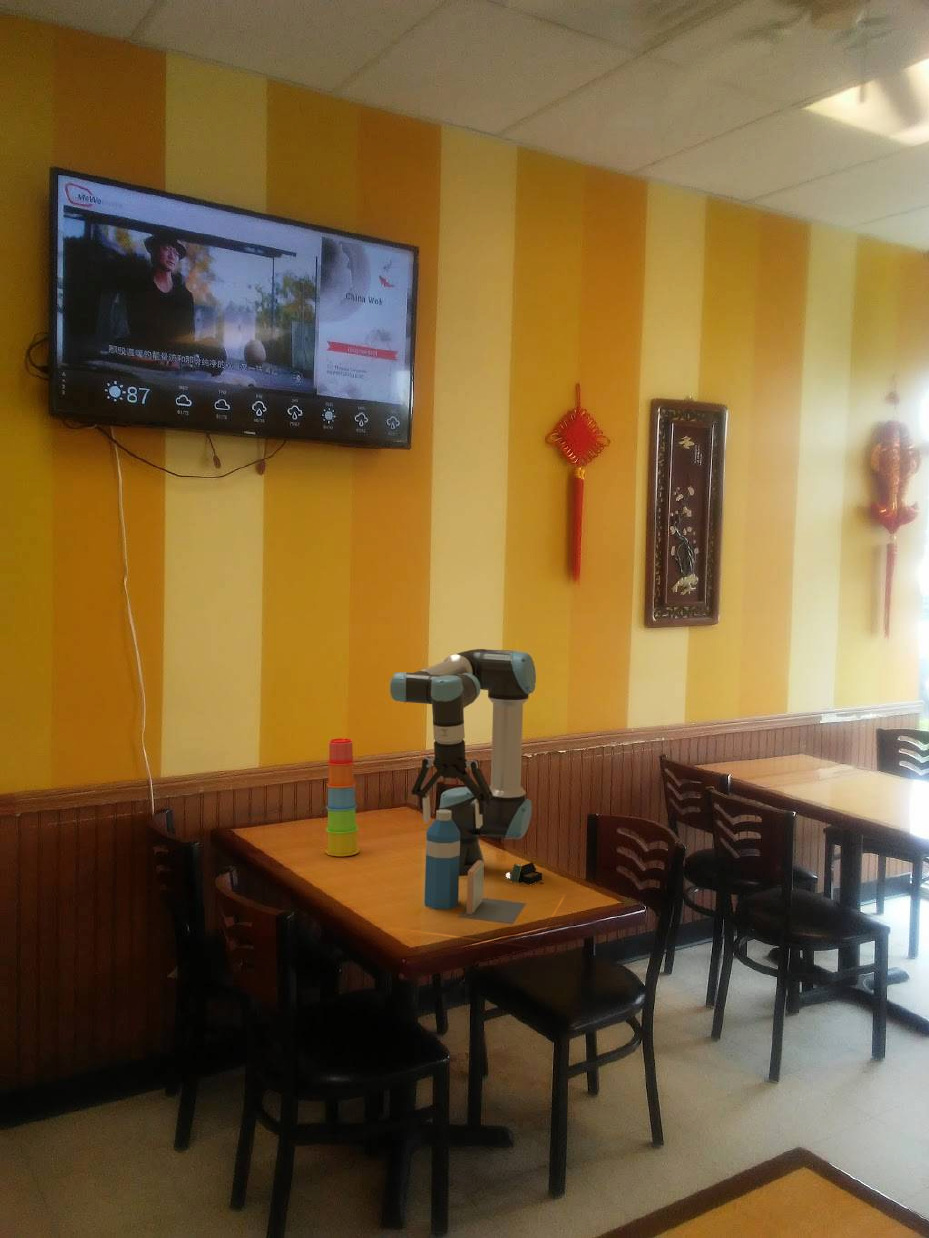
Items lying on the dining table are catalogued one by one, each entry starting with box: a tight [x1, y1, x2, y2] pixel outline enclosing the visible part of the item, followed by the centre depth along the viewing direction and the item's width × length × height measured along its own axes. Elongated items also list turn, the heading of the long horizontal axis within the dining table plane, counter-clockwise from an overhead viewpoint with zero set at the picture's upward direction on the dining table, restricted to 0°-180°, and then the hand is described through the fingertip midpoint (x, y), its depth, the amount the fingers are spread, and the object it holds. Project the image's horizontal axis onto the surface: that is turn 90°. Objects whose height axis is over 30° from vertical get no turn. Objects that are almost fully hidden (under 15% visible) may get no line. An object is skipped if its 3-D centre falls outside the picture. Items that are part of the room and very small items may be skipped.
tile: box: [466, 860, 485, 914], centre depth 265 cm, size 10×2×11 cm, turn 164°
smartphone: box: [505, 861, 545, 887], centre depth 291 cm, size 15×15×6 cm
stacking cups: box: [325, 737, 360, 857], centre depth 310 cm, size 10×10×35 cm
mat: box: [458, 897, 527, 925], centre depth 264 cm, size 16×14×1 cm
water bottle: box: [423, 809, 460, 910], centre depth 267 cm, size 9×9×25 cm
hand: (453, 824), depth 250 cm, fingers open, 13 cm apart
